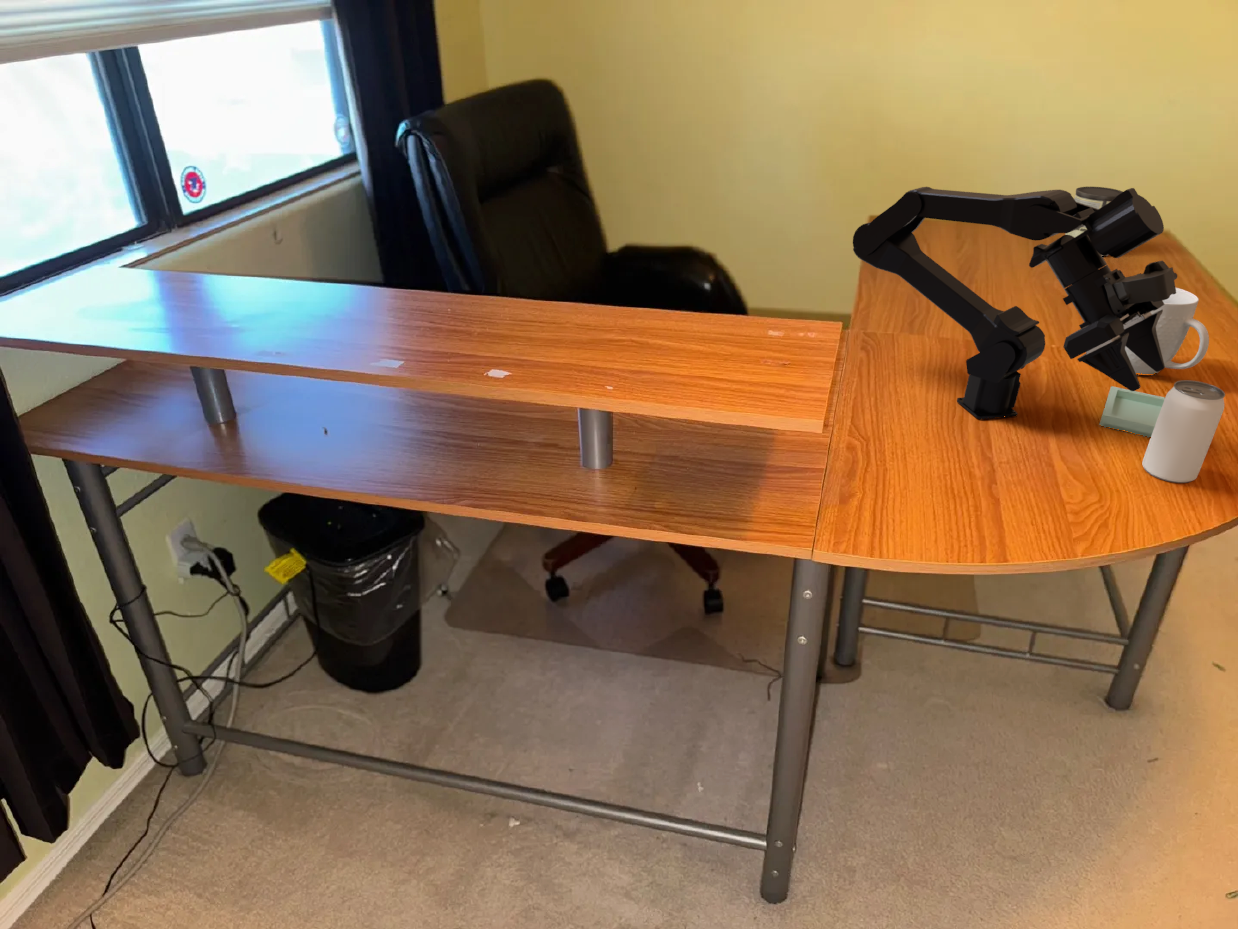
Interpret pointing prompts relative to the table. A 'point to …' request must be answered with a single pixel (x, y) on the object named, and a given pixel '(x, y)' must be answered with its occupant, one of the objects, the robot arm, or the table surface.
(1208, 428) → the can
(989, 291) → the table surface
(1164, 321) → the mug
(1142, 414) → the tray
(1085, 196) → the coffee can
